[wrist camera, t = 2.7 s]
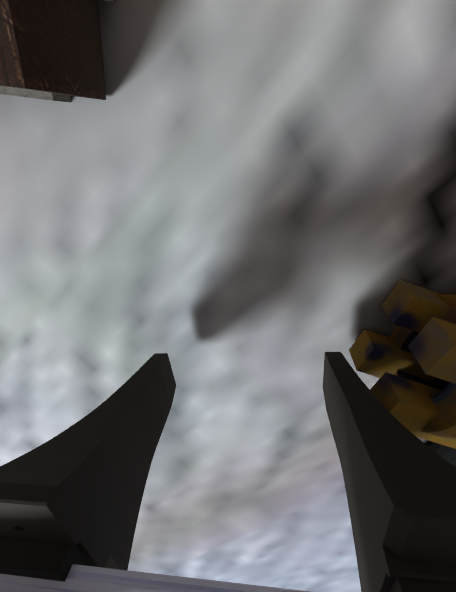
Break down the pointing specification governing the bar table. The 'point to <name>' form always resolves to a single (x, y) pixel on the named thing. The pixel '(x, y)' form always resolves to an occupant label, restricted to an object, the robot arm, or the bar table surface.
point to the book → (51, 49)
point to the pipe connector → (416, 364)
